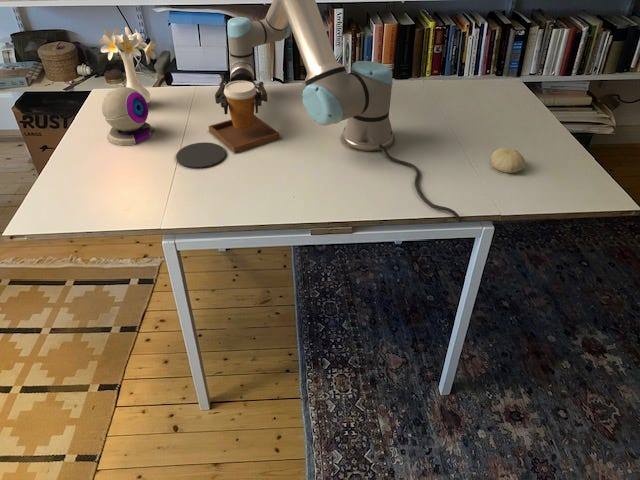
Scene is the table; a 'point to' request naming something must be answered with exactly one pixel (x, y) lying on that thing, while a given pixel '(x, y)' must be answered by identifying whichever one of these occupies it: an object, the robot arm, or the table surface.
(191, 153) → the coaster
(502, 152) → the sea urchin shell
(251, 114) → the disposable coffee cup
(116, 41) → the flower vase
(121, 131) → the webcam
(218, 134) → the tray
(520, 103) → the table surface
